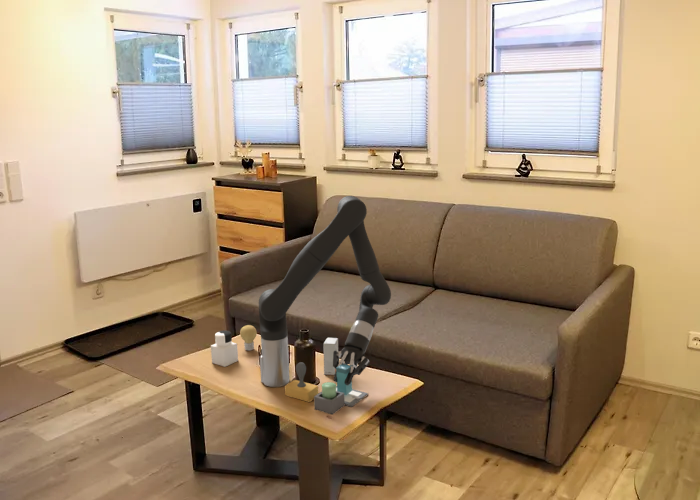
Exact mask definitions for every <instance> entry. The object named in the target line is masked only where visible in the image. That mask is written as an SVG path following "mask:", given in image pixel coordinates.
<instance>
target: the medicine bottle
mask: <svg viewBox="0 0 700 500" xmlns="http://www.w3.org/2000/svg"><path fill="white" fill-rule="evenodd" d="M214 339H215V343H213V344H211V345H210V353H211V354H210V355H211V363H212V364H215V365H217V366H221V367H224V368H225V367H227V366H230V365H232V364H234V363H236V362H238V361H239V354H238V343H236V342H233V341H232V340H233V339H232V332H231V331H230V330H226V329H225V330H219V331H217V332H216V333H215V334H214Z"/></svg>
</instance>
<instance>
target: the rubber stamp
mask: <svg viewBox="0 0 700 500" xmlns="http://www.w3.org/2000/svg"><path fill="white" fill-rule="evenodd" d="M295 372H296V374H297V377H298V379H299V380H298V379H294V380H292V381H289V383H288V384H286V385H284V393H285V394H284V395H285V396H286V397H291V398H293V399H297V400H301V401H305V402H308V403H310V402H312V401H314V396H316V395H317V394H319V386H318V385H317V384H316V385H315V384H313V383H309V382H305V381H304V379H305V375H306V372H307V366H306V364H305V363H304V362H301V361H300V362H297V364H296V365H295Z"/></svg>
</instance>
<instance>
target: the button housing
mask: <svg viewBox="0 0 700 500" xmlns="http://www.w3.org/2000/svg"><path fill="white" fill-rule="evenodd" d="M313 405H314V408H313V409H314V410H316V411H318V412H322V413H325V414H329V415H334V414H335V413H337V412H338V411H340V410H341V409H342V408H344V407H345V406H346V405H345V403H344V393H342V392H339V391H336V397H335V398H333V399H332V400H330V399H326V398H323V397H322V391H320V392H318V394H317V395H316V396H314V399H313Z"/></svg>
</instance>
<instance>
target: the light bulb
mask: <svg viewBox="0 0 700 500" xmlns="http://www.w3.org/2000/svg"><path fill="white" fill-rule="evenodd" d="M239 332H240V333H239V334H240V338H241V339H242V340H243V341H244V342H243V344H244V345H243V346H244V350H245V351H250V352H251V351H252V350H254V348H255V345H254V343H255V342H254V340H255V339H256V337H257V328H255V326H253V325H251V324H247V325H244V326H243V327H241V328H240V331H239Z"/></svg>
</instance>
